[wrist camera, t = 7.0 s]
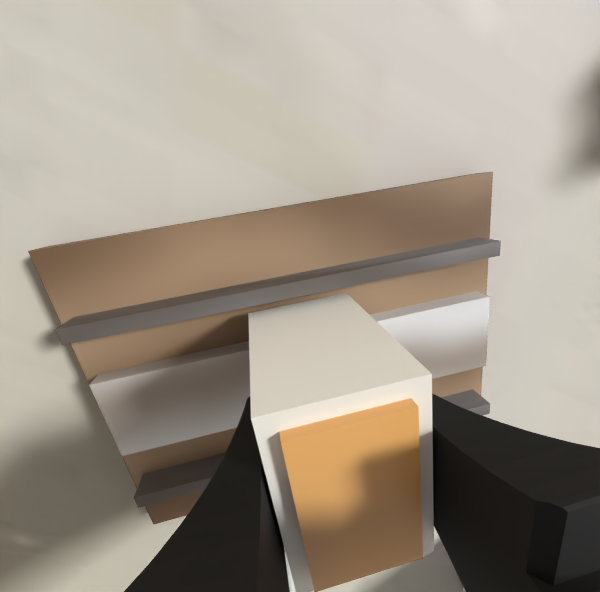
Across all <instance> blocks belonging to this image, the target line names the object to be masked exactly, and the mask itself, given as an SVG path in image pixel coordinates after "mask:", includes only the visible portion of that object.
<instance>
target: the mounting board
mask: <svg viewBox="0 0 600 592" xmlns="http://www.w3.org/2000/svg"><path fill="white" fill-rule="evenodd" d="M492 178H493V172H486V173H476V174H470V175H464V176H458V177H453V178H447V179H441V180H435V181H429V182H423V183H417V184H412V185H406V186H400V187H394V188H388V189H382V190H376V191H371V192H365V193H359V194H353V195H347V196H341V197H335V198H330V199H324V200H318V201H312V202H306V203H300V204H294V205H289V206H283V207H277V208H271V209H265V210H259V211H253V212H247V213H242V214H236V215H230V216H224V217H218V218H212V219H206V220H201V221H195V222H189V223H183V224H177V225H171V226H165V227H160V228H154V229H148V230H142V231H136V232H130V233H124V234H119V235H113V236H107V237H101V238H95V239H89V240H83V241H77V242H72V243H66V244H60V245H54V246H48V247H43V248H39V249H35V250H31V251H28V252H29V254H30V256H31V258H32V261H33V263H34V265H35V267H36V269H37V272H38V274H39V276H40V278H41V280H42V282H43V285H44V287H45V289H46V291H47V293H48V295H49V298H50V300H51V302H52V304H53V306H54V309H55V311H56V313H57V315H58V317H59V319H60V322H61V324H62V325H61V326H60V327H59V328H57V329H56V330H55V331H56V333H57V335H58V337H59V340H60V342H61V344H62V345H66V344H71V346H72V348H73V350H74V352H75V354H76V356H77V359H78V361H79V363H80V365H81V367H82V370H83V372H84V374H85V376H86V378H87V380H88V383H89V386H90V388H91V390H92V393H93V395H94V397H95V399H96V401H97V403H98V406H99V408H100V410H101V412H102V414H103V416H104V419H105V421H106V423H107V425H108V427H109V429H110V432H111V434H112V436H113V438H114V440H115V443H116V445H117V447H118V449H119V451H120V453H121V456H122V457H123V459H124V461H125V463H126V465H127V468H128V470H129V472H130V474H131V476H132V479H133V481H134V483H135V485H136V487H137V491H136V494H135V496H134V499H135V501H136V503H137V505H138V507H142V506H145V507H146V509H147V511H148V513H149V516H150V518H151V520H152V522H153V524H157V523H160V522H164V521H167V520H171V519H175V518H178V517H182V516H186V515H188V514H189V512H190V511H191V509H192V508H193V506H194V505H195V503H196V502H197V500H198V499H199V497H200V496H201V494H202V493H203V491H204V490H205V488H206V486H207V485H208V483H209V481H210V480H211V478H212V476H213V475H214V473H215V471H216V469H217V468H218V466H219V464H220V462H221V460H222V458H223V456H224V454H225V452H226V450H227V448H228V446H229V444H230V442H231V440H232V437H233V435H234V433H235V430H236V428H237V426H238V423H239V421H240V418H241V416H242V413H243V410H244V407H245V404H246V400H247V398H248V397H249V396H250V359H249V317H248V313H253V312H257V311H262V310H267V309H272V308H277V307H282V306H286V305H291V304H296V303H301V302H306V301H310V300H315V299H320V298H325V297H330V296H335V295H339V294H344V293H347V294H348V295H349V296H350V297H351V298H352V299H353V300H354V301H355V302H356V303H357V304H359V305H360V306H361V307H362V308H363V309H364V310H365V311H366V312H367V313H368V314H369V315H370V316H371V317H372V318H373V319H374V320H375V321H377V322H378V323H379V324H380V325H381V326H382V327H383V328H384V329H385V330H386V331H387V332H388V333H389V334H390V335H391V336H392V337H393V338H394V339H396V340H397V341H398V342H399V343H400V344H401V345H402V346H403V347H404V348H405V349H406V350H407V351H408V352H409V353H410V354H411V355H412V356H414V357H415V358H416V359H417V360H418V361H419V362H420V363H421V364H422V365H423V366H424V367H425V368H426V369H427V370H428V371H429V372H430V373H431V374H432V393H433V394H435V395H437V396H439V397H441V398H443V399H445V400H447V401H449V402H451V403H453V404H455V405H457V406H460V407H462V408H464V409H467V410H469V411H472V412H474V413H477V414H479V415H485V414H489V412H490V403H489V402H487V401H486V400H485V399H484V398H483V397H482V396H481V386H482V368H483V366H486V356H487V338H488V321H489V303H490V296H487V295H486V292H487V273H488V258H490V257H495V256H500V244H501V241H498V240H492V239H489V235H490V216H491V197H492Z"/></svg>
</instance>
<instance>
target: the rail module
mask: <svg viewBox="0 0 600 592" xmlns="http://www.w3.org/2000/svg"><path fill="white" fill-rule="evenodd" d="M248 317H249V359H250V401H251V421H252V425H253V428H254V432H255V436H256V440H257V444H258V448H259V451H260V455H261V459H262V463H263V467H264V471H265V475H266V478H267V482H268V486H269V490H270V494H271V498H272V502H273V505H274V509H275V513H276V517H277V521H278V525H279V529H280V532H281V536H282V540H283V544H284V548H285V552H286V555H287V559H288V563H289V567H290V571H291V575H292V579H293V582H294V586H295V590H296V592H310V591H313V590H314V591H315V592H317V591H320V590H324V589H327V588H330V587H333V586H336V585H339V584H342V583H346V582H349V581H352V580H355V579H358V578H361V577H365V576H368V575H371V574H374V573H377V572H380V571H383V570H387V569H390V568H393V567H396V566H399V565H402V564H406V563H409V562H412V561H415V560H418V559H421V558H423V556H424V555H427V554H430V553H433V552H434V514H433V430H432V374H431V373H430V372H429V371H428V370H427V369H426V368H425V367H424V366H423V365H422V364H421V363H420V362H419V361H418V360H417V359H416V358H415V357H414V356H412V355H411V354H410V353H409V352H408V351H407V350H406V349H405V348H404V347H403V346H402V345H401V344H400V343H399V342H398V341H397V340H396V339H394V338H393V337H392V336H391V335H390V334H389V333H388V332H387V331H386V330H385V329H384V328H383V327H382V326H381V325H380V324H379V323H378V322H377V321H375V320H374V319H373V318H372V317H371V316H370V315H369V314H368V313H367V312H366V311H365V310H364V309H363V308H362V307H361V306H360V305H359V304H357V303H356V302H355V301H354V300H353V299H352V298H351V297H350V296H349V295H348V294H347V293H344V294H339V295H335V296H330V297H325V298H320V299H315V300H310V301H306V302H301V303H296V304H291V305H286V306H282V307H277V308H272V309H267V310H262V311H257V312H253V313H248Z"/></svg>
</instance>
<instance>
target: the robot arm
mask: <svg viewBox="0 0 600 592" xmlns="http://www.w3.org/2000/svg"><path fill="white" fill-rule="evenodd" d="M432 430H433V514H434V527H435V529H436V531H437V533H438V535H439V537H440V539H441V541H442V543H443V545H444V547H445V549H446V551H447V553H448V555H449V557H450V559H451V561H452V563H453V565H454V567H455V570H456V572H457V574H458V576H459V578H460V580H461V582H462V584H463V591H464V592H600V448H595V447H591V446H586V445H581V444H576V443H571V442H567V441H563V440H559V439H555V438H551V437H547V436H544V435H540V434H536V433H533V432H529V431H526V430H523V429H519V428H516V427H513V426H510V425H507V424H504V423H501V422H498V421H495V420H492V419H490V418H487V417H484V416H482V415H479V414H477V413H474V412H472V411H469V410H467V409H464V408H462V407H460V406H457V405H455V404H453V403H451V402H449V401H447V400H445V399H443V398H441V397H439V396H437V395H435V394H433V393H432ZM124 592H290V589H289V582H288V574H287V566H286V558H285V550H284V544H283V540H282V536H281V532H280V529H279V525H278V521H277V517H276V513H275V509H274V505H273V502H272V498H271V494H270V490H269V486H268V482H267V478H266V475H265V471H264V467H263V463H262V459H261V455H260V451H259V448H258V444H257V440H256V436H255V432H254V428H253V425H252V421H251V401H250V396H249V397H248V398H247V400H246V404H245V407H244V410H243V413H242V416H241V418H240V421H239V423H238V426H237V428H236V430H235V433H234V435H233V437H232V440H231V442H230V444H229V446H228V448H227V450H226V452H225V454H224V456H223V458H222V460H221V462H220V464H219V466H218V468H217V469H216V471H215V473H214V475H213V476H212V478H211V480H210V481H209V483H208V485H207V486H206V488H205V490H204V491H203V493H202V494H201V496H200V497H199V499H198V500H197V502H196V503H195V505H194V506H193V508H192V509H191V511H190V512H189V514H188V515H187V516H186V518H185V519H184V521H183V522H182V523H181V525H180V526H179V527H178V529H177V530H176V531H175V532H174V534H173V535H172V536H171V537H170V539H169V540H168V541H167V542H166V544H165V545H164V546H163V548H162V549H161V550H160V551H159V553H158V554H157V555H156V556H155V557H154V559H153V560H152V561H151V562H150V563H149V565H148V566H147V567H146V568H145V569H144V570H143V571H142V572H141V573H140V575H139V576H138V577H137V578H136V579H135V580H134V581H133V582H132V583H131V584H130V586H129V587H128V588H127V589H126V590H125V591H124Z"/></svg>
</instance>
